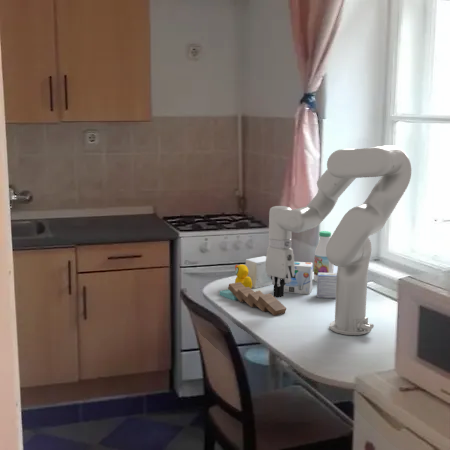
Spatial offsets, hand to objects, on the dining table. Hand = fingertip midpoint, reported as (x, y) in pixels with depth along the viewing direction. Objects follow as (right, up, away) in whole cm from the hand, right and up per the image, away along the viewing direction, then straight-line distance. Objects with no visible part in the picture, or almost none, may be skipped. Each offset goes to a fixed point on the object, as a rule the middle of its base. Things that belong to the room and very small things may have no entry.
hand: (278, 296), depth 234 cm
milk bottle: (+21, +2, +45) cm, 50 cm away
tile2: (-3, -4, +4) cm, 7 cm away
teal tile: (-13, -2, +17) cm, 22 cm away
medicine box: (+20, -3, +22) cm, 30 cm away
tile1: (+1, -5, 0) cm, 5 cm away
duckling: (-11, -1, +29) cm, 31 cm away
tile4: (-10, -2, +14) cm, 18 cm away
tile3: (-6, -4, +9) cm, 12 cm away
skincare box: (-4, 0, +37) cm, 38 cm away
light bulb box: (+9, -1, +29) cm, 31 cm away
